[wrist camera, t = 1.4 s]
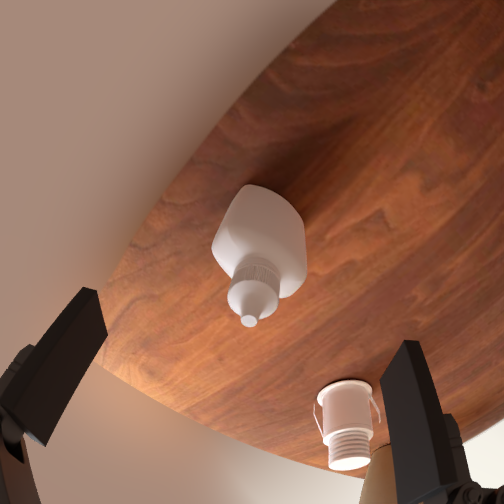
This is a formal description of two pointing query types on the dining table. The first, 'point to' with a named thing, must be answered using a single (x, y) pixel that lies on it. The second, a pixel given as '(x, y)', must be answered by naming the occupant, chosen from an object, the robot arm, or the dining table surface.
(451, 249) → the dining table surface
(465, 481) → the robot arm
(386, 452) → the plant pot
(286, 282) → the eye dropper bottle
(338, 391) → the downlight
